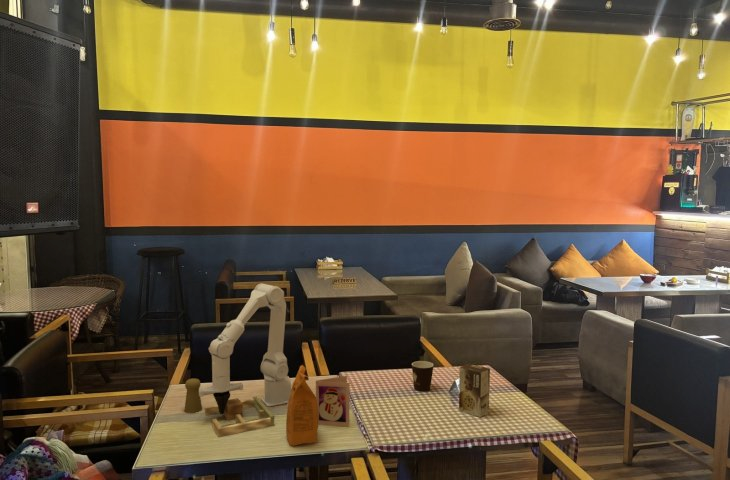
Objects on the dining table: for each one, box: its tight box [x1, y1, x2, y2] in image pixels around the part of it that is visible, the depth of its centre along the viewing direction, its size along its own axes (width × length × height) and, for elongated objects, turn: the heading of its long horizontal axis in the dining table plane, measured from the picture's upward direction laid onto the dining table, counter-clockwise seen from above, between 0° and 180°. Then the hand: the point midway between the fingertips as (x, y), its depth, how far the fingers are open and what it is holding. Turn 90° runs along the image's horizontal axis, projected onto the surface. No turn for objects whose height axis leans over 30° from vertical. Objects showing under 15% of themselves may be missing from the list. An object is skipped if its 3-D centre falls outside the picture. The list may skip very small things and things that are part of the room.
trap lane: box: [204, 395, 275, 437], centre depth 182 cm, size 18×20×3 cm
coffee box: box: [458, 363, 491, 418], centre depth 190 cm, size 9×6×16 cm
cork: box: [184, 378, 203, 414], centre depth 189 cm, size 6×6×11 cm
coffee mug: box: [411, 360, 434, 393], centre depth 213 cm, size 12×9×10 cm
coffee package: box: [285, 364, 319, 447], centre depth 168 cm, size 10×12×22 cm
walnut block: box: [223, 397, 244, 422], centre depth 184 cm, size 5×6×5 cm
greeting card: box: [315, 375, 351, 428], centre depth 180 cm, size 11×7×15 cm, turn 82°
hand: (221, 413), depth 182 cm, fingers closed
